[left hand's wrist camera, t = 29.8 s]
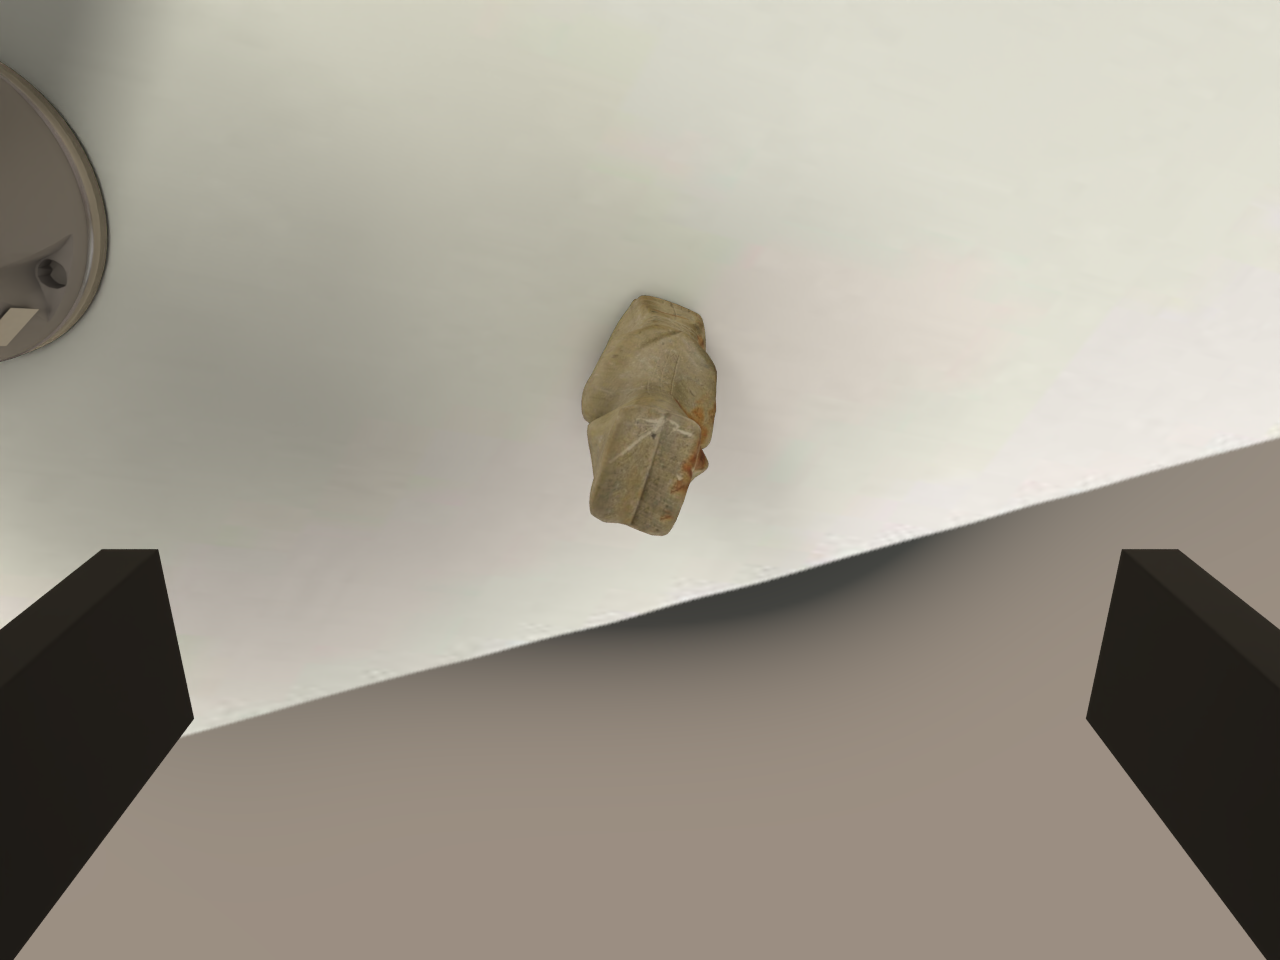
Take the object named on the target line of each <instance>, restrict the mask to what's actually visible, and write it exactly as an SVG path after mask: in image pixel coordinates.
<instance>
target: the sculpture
mask: <svg viewBox="0 0 1280 960" xmlns="http://www.w3.org/2000/svg"><path fill="white" fill-rule="evenodd" d="M716 382H717V371H716V368H715V365H714V363H713V362H712V360H711V359H710V357H709V355H708V354H707V353H706V339H705V329H704V324H703V320H702V318H701V316H700V315H699V314H697V313H695V312H693V311H691V310H689V309H687V308H684V307H682V306H679V305H677V304H674V303H672V302H669V301H666V300H663V299H659V298H656V297H652V296H645V295H644V296H641V297H639V298H638V299H635V300H634V301H633V302H632V303H631V305H630V307H629V309H628V310H627V311H626V312H625V314H624V315H623V316H622V318H621V319H620V321H619V322H618V324H617V326H616V328H615V329H614V331H613V333H612V335H611V337H610V339H609V341H608V344H607V346H606V348H605V350H604V352H603V353H602V355H601V357H600V359H599V361H598V363H597V365H596V367H595V369H594V371H593V373H592V375H591V376H590V378H589V379H588V381H587V383H586V385H585V387H584V391H583V395H582V414H583V417H584V419H585V420H586V421H587V422H589V423H590V424H589V425H588V429H587V436H588V443H589V448H590V454H591V460H592V467H593V475H594V480H593V483H592V487H591V492H590V501H589V504H590V512H591V514H592V515H593V516H594V517H596V518H598V519H599V520H601V521H603V522H608V523H621V524H625V525H628V526H630V527H632V528H635V529H637V530H639V531H642V532H645V533H647V534H650V535H656V536H663V535H666V534H668V533H669V532H670V530H671V529H672V527H673V525H674V523H675V522H676V520H677V517H678V515H679V512H680V509H681V507H682V504H683V502H684V499H685V496H686V493H687V489H688V486H689V484H690V482H691V481H692V480H693V479H694V478H695V477H696V476H698V475H700V474H701V473H703V472H704V471H705V470H706V469H707V468H708V460H707V458H706V456H705V454H704V452H703V450H702V449H704V448H705V447H707V446H708V444H709V443H710V441H711V437H712V431H713V424H714V417H715V413H716Z"/></svg>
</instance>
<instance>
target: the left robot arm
mask: <svg viewBox="0 0 1280 960" xmlns="http://www.w3.org/2000/svg"><path fill="white" fill-rule="evenodd" d="M106 251H107V225H106V215H105V210H104V204H103V199H102V196H101V192H100V189H99V185H98V182H97V180H96V177H95V174H94V171H93V169H92V167H91V164H90V162H89V160H88V158H87V156H86V154H85V152H84V150H83V148H82V147H81V145H80V143H79V141H78V140H77V138H76V136H75V135H74V133H73V132H72V130H71V129H70V127H69V126H68V125H67V123H66V122H65V120H64V119H63V118H62V117H61V115H60V114H59V113H58V112H57V110H56V109H55V108H54V107H53V106H52V105H51V104H50V103H49V101H48V100H47V99H46V98H45V97H44V96H43V95H42V94H41V93H40V92H39V91H38V90H37V89H35V88H34V87H33V86H32V85H31V84H30V83H29V82H28V81H27V80H25V79H24V78H23V77H21V76H20V75H19V74H17V73H16V72H15V71H14V70H12V69H11V68H9V67H8V66H6V65H5V64H3V63H2V62H0V362H1V361H5V360H8V359H12V358H15V357H17V356H20V355H23V354H25V353H28V352H31V351H33V350H36V349H38V348H41V347H43V346H45V345H47V344H49V343H50V342H52V341H54V340H56V339H57V338H59V337H60V336H61V335H63V334H64V333H65V332H67V331H68V330H69V329H70V328H71V327H72V326H73V325H74V324H75V323H76V322H77V321H78V320H79V319H80V317H81V316H82V315H83V314H84V313H85V311H86V309H87V308H88V306H89V305H90V303H91V302H92V300H93V298H94V296H95V293H96V291H97V289H98V286H99V284H100V281H101V278H102V274H103V270H104V266H105V260H106ZM193 719H194V716H193V711H192V707H191V702H190V697H189V693H188V688H187V683H186V678H185V674H184V669H183V664H182V660H181V655H180V650H179V645H178V641H177V636H176V631H175V627H174V622H173V617H172V612H171V608H170V603H169V598H168V594H167V589H166V584H165V579H164V575H163V570H162V565H161V561H160V556H159V551H158V549H102V550H100V551H99V552H98V553H97V554H95V555H94V556H93V557H92V558H90V559H89V560H88V561H86V562H85V563H84V564H83V565H81V566H80V567H79V568H78V569H76V570H75V571H74V572H73V573H71V574H70V575H69V576H68V577H66V578H65V579H64V580H62V581H61V582H60V583H59V584H57V585H56V586H55V587H54V588H52V589H51V590H50V591H49V592H47V593H46V594H45V595H44V596H42V597H41V598H40V599H38V600H37V601H36V602H35V603H33V604H32V605H31V606H30V607H28V608H27V609H26V610H25V611H23V612H22V613H21V614H19V615H18V616H17V617H16V618H14V619H13V620H12V621H11V622H9V623H8V624H7V625H6V626H4V627H3V628H2V629H1V630H0V960H14V958H15V957H16V956H17V954H18V953H19V952H20V950H21V949H22V947H23V946H24V945H25V944H26V942H27V941H28V940H29V938H30V937H31V936H32V934H33V933H34V932H35V930H36V929H37V928H38V926H39V925H40V924H41V922H42V921H43V920H44V918H45V917H46V916H47V914H48V913H49V911H50V910H51V909H52V908H53V906H54V905H55V903H56V902H57V901H58V900H59V898H60V897H61V895H62V894H63V893H64V892H65V890H66V889H67V888H68V886H69V885H70V884H71V882H72V881H73V880H74V878H75V877H76V875H77V874H78V873H79V871H80V870H81V869H82V868H83V866H84V865H85V864H86V862H87V861H88V859H89V858H90V857H91V856H92V854H93V853H94V851H95V850H96V849H97V848H98V846H99V845H100V843H101V842H102V841H103V840H104V838H105V837H106V836H107V834H108V833H109V832H110V830H111V829H112V828H113V826H114V825H115V823H116V822H117V821H118V819H119V818H120V817H121V815H122V814H123V813H124V811H125V810H126V809H127V807H128V806H129V805H130V803H131V802H132V801H133V799H134V798H135V797H136V795H137V794H138V793H139V791H140V790H141V789H142V787H143V786H144V785H145V783H146V782H147V781H148V779H149V778H150V777H151V775H152V774H153V773H154V771H155V770H156V769H157V767H158V766H159V765H160V763H161V762H162V761H163V759H164V758H165V757H166V755H167V754H168V753H169V751H170V750H171V749H172V747H173V746H174V745H175V743H176V742H177V741H178V739H179V738H180V737H181V735H182V734H183V733H184V731H185V730H186V729H187V727H188V726H189V725H190V723H191V722H192V721H193ZM1086 719H1087V721H1088V722H1089V723H1090V725H1091V726H1092V727H1093V729H1094V730H1095V731H1096V733H1097V734H1098V735H1099V737H1100V738H1101V739H1102V741H1103V742H1104V743H1105V745H1106V746H1107V747H1108V749H1109V750H1110V751H1111V753H1112V754H1113V755H1114V757H1115V758H1116V759H1117V761H1118V762H1119V763H1120V765H1121V766H1122V767H1123V769H1124V770H1125V771H1126V773H1127V774H1128V775H1129V777H1130V778H1131V779H1132V781H1133V782H1134V783H1135V785H1136V786H1137V787H1138V789H1139V790H1140V791H1141V793H1142V794H1143V795H1144V797H1145V798H1146V799H1147V801H1148V802H1149V803H1150V805H1151V806H1152V807H1153V809H1154V810H1155V811H1156V813H1157V814H1158V815H1159V817H1160V818H1161V819H1162V821H1163V822H1164V823H1165V825H1166V826H1167V827H1168V829H1169V830H1170V832H1171V833H1172V834H1173V836H1174V837H1175V838H1176V839H1177V841H1178V842H1179V843H1180V845H1181V846H1182V848H1183V849H1184V850H1185V851H1186V853H1187V854H1188V855H1189V857H1190V858H1191V860H1192V861H1193V862H1194V864H1195V865H1196V866H1197V867H1198V869H1199V870H1200V872H1201V873H1202V874H1203V876H1204V877H1205V878H1206V880H1207V881H1208V882H1209V884H1210V885H1211V886H1212V888H1213V889H1214V890H1215V892H1216V893H1217V894H1218V896H1219V897H1220V898H1221V900H1222V901H1223V902H1224V904H1225V905H1226V906H1227V908H1228V909H1229V910H1230V912H1231V913H1232V914H1233V916H1234V917H1235V918H1236V920H1237V921H1238V922H1239V923H1240V925H1241V926H1242V928H1243V929H1244V930H1245V932H1246V933H1247V934H1248V936H1249V937H1250V938H1251V940H1252V941H1253V942H1254V944H1255V945H1256V946H1257V948H1258V949H1259V950H1260V952H1261V953H1262V954H1263V955H1264V957H1265V958H1266V959H1267V960H1280V630H1279V629H1278V628H1277V627H1276V626H1274V625H1273V624H1272V623H1271V622H1269V621H1268V620H1267V619H1266V618H1264V617H1263V616H1262V615H1261V614H1259V613H1258V612H1257V611H1255V610H1254V609H1253V608H1252V607H1250V606H1249V605H1248V604H1247V603H1245V602H1244V601H1243V600H1242V599H1240V598H1239V597H1238V596H1236V595H1235V594H1234V593H1233V592H1231V591H1230V590H1229V589H1228V588H1226V587H1225V586H1224V585H1222V584H1221V583H1220V582H1219V581H1218V580H1216V579H1215V578H1214V577H1212V576H1211V575H1210V574H1209V573H1207V572H1206V571H1205V570H1204V569H1202V568H1201V567H1200V566H1199V565H1197V564H1196V563H1195V562H1194V561H1192V560H1191V559H1190V558H1188V557H1187V556H1186V555H1185V554H1183V553H1182V552H1181V551H1180V550H1178V549H1122V551H1121V556H1120V561H1119V565H1118V570H1117V575H1116V579H1115V584H1114V589H1113V594H1112V598H1111V603H1110V608H1109V613H1108V617H1107V622H1106V627H1105V631H1104V636H1103V641H1102V646H1101V650H1100V655H1099V660H1098V664H1097V669H1096V674H1095V678H1094V683H1093V688H1092V693H1091V697H1090V702H1089V707H1088V711H1087V716H1086Z"/></svg>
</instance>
